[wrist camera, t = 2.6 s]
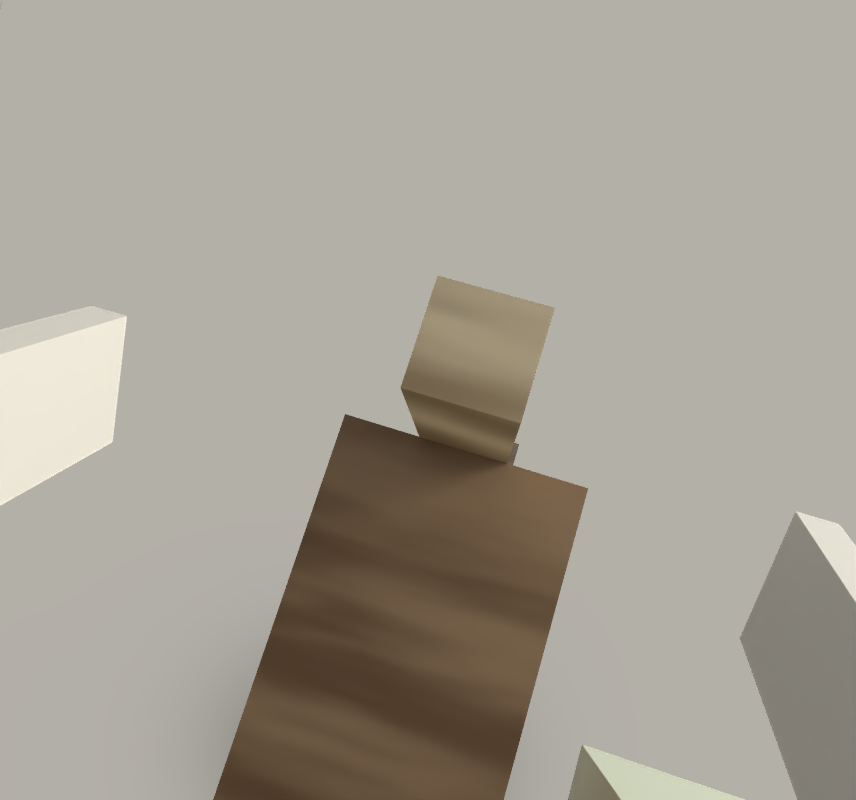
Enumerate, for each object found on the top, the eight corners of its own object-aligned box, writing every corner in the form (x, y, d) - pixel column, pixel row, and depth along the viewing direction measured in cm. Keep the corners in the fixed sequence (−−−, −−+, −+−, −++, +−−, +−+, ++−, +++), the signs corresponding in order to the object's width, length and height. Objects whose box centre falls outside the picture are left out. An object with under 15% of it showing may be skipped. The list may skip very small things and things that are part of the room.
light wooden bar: (534, 427, 22) (567, 311, 22) (387, 384, 22) (424, 272, 23) (503, 496, 42) (521, 434, 42) (427, 472, 42) (446, 412, 43)
